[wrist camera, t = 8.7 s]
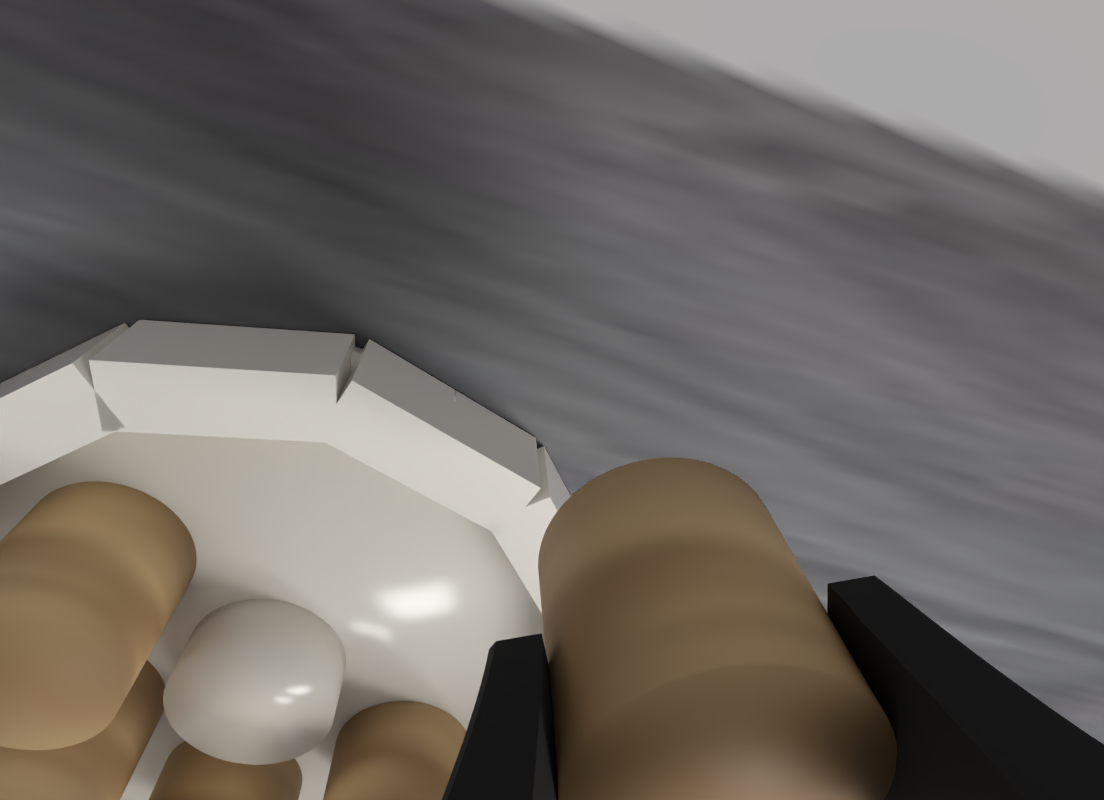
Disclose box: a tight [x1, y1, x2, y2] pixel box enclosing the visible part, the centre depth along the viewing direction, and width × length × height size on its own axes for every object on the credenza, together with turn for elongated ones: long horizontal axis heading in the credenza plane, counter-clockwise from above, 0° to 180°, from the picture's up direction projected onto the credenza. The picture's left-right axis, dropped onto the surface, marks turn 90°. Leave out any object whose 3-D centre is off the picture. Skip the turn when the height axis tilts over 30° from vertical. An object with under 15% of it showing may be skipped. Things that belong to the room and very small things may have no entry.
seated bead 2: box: [0, 660, 165, 800], centre depth 18 cm, size 4×4×4 cm
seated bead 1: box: [0, 481, 197, 750], centre depth 16 cm, size 4×4×4 cm
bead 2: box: [538, 458, 897, 800], centre depth 10 cm, size 4×4×4 cm
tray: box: [0, 320, 571, 800], centre depth 19 cm, size 18×18×2 cm
